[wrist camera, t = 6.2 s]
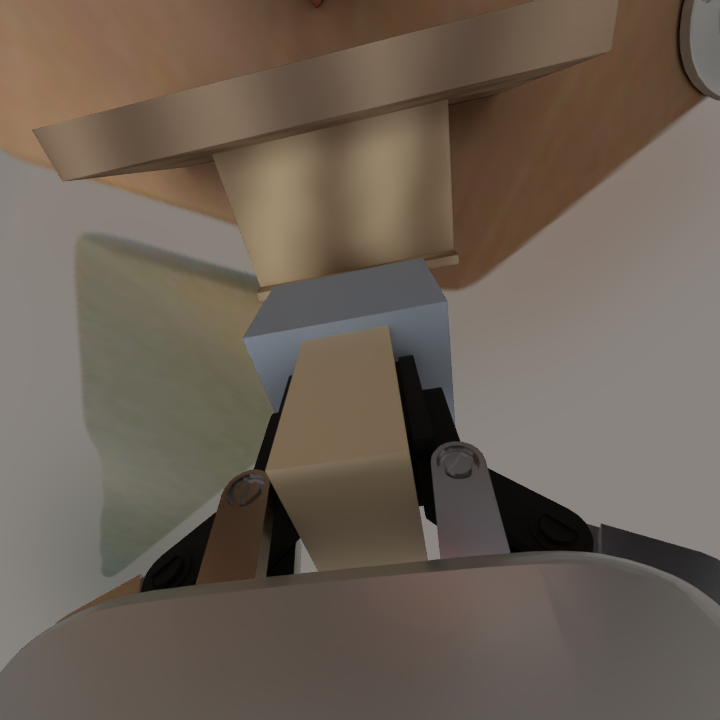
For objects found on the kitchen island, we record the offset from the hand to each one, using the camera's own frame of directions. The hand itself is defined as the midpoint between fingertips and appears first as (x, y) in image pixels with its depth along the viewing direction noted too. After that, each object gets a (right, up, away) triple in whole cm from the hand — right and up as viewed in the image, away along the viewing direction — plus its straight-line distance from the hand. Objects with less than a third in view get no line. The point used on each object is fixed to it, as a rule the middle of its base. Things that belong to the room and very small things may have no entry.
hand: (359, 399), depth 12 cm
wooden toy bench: (-2, +16, +14) cm, 22 cm away
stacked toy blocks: (0, +3, +5) cm, 6 cm away
